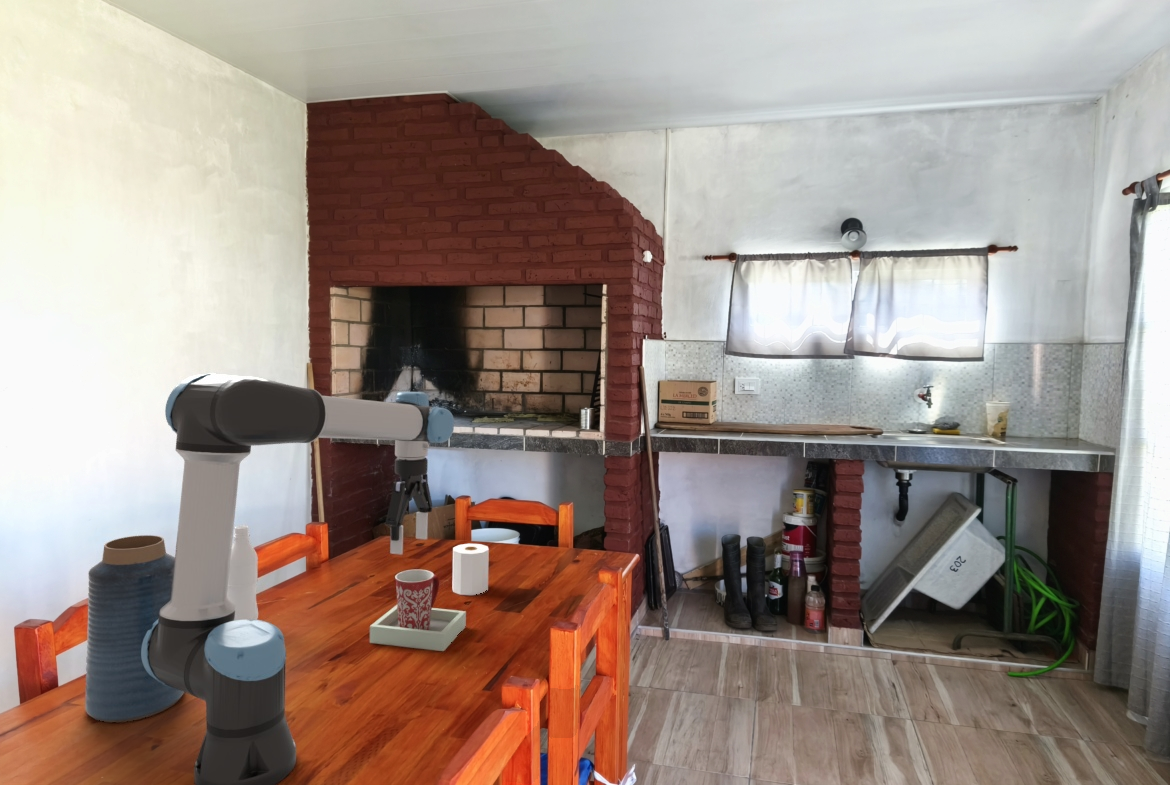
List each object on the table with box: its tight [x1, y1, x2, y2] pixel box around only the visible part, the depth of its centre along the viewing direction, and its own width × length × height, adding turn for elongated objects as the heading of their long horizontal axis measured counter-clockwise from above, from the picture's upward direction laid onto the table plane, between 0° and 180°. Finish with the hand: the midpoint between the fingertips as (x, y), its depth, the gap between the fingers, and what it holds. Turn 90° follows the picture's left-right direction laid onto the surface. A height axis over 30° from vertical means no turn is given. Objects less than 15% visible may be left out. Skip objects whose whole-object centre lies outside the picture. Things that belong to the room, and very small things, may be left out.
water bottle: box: [227, 524, 259, 621], centre depth 172 cm, size 7×7×25 cm
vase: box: [84, 534, 185, 723], centre depth 135 cm, size 16×16×32 cm
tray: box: [369, 604, 467, 652], centre depth 171 cm, size 14×18×4 cm
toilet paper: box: [451, 543, 490, 596], centre depth 203 cm, size 10×10×12 cm
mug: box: [394, 568, 440, 630], centre depth 171 cm, size 13×9×14 cm
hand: (409, 546), depth 168 cm, fingers open, 13 cm apart
